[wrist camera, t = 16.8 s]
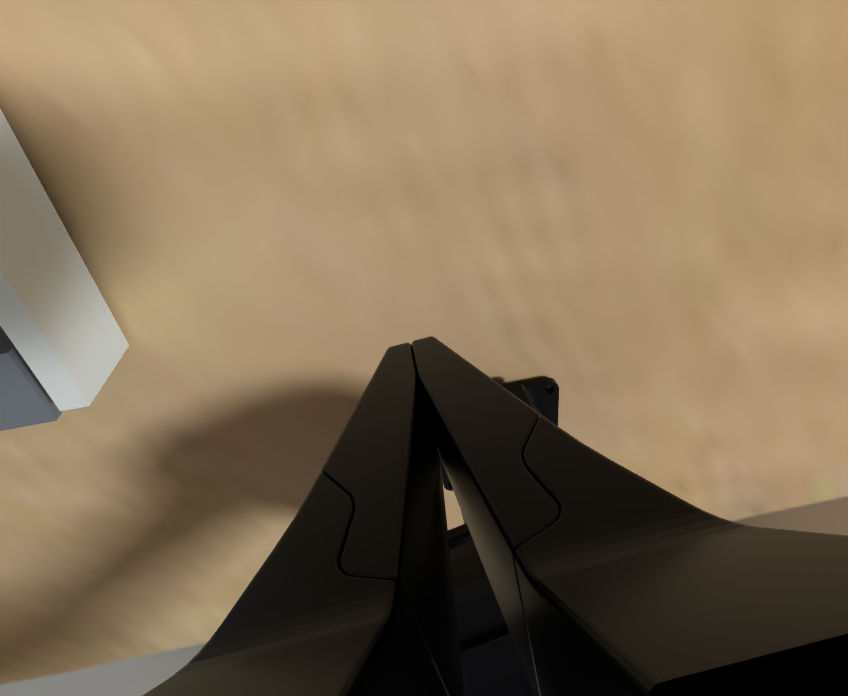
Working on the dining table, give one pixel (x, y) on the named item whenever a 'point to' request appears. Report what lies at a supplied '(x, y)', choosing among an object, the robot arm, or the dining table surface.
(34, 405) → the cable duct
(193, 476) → the dining table surface
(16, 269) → the light grey flat bar
